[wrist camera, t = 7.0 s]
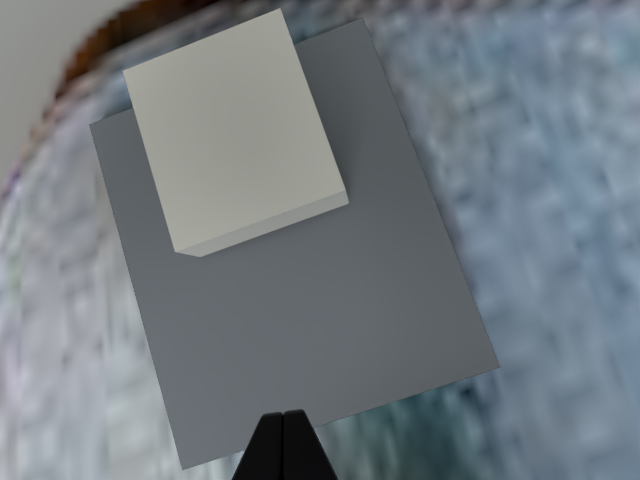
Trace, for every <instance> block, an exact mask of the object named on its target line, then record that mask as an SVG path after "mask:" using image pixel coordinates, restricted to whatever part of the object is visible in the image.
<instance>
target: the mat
mask: <svg viewBox="0 0 640 480" xmlns="http://www.w3.org/2000/svg"><path fill="white" fill-rule="evenodd" d="M294 48H295V50H296V53H297V56H298V59H299V61H300V64H301V67H302V70H303V73H304V75H305V78H306V81H307V84H308V86H309V89H310V92H311V95H312V98H313V100H314V103H315V106H316V109H317V111H318V114H319V117H320V120H321V123H322V125H323V128H324V131H325V134H326V136H327V139H328V142H329V145H330V148H331V150H332V153H333V156H334V159H335V161H336V164H337V167H338V170H339V173H340V175H341V178H342V181H343V184H344V186H345V189H346V193H347V197H348V201H349V204H346V205H344V206H341V207H338V208H335V209H332V210H330V211H327V212H324V213H321V214H319V215H316V216H313V217H310V218H307V219H305V220H302V221H299V222H296V223H294V224H291V225H288V226H285V227H282V228H280V229H277V230H274V231H271V232H269V233H266V234H263V235H260V236H258V237H255V238H252V239H249V240H246V241H244V242H241V243H238V244H235V245H233V246H230V247H227V248H224V249H221V250H219V251H216V252H213V253H210V254H208V255H205V256H202V257H197V256H192V255H187V254H182V253H177V252H175V250H174V247H173V243H172V240H171V236H170V233H169V230H168V226H167V223H166V219H165V216H164V212H163V209H162V205H161V202H160V198H159V195H158V191H157V188H156V184H155V181H154V178H153V174H152V171H151V167H150V164H149V160H148V157H147V153H146V150H145V146H144V143H143V139H142V136H141V132H140V129H139V125H138V122H137V119H136V115H135V112H134V108H130V109H128V110H125V111H123V112H120V113H117V114H115V115H112V116H110V117H107V118H105V119H102V120H100V121H97V122H94V123H92V124H89V125H90V128H91V132H92V136H93V140H94V143H95V147H96V151H97V154H98V158H99V162H100V166H101V169H102V173H103V177H104V180H105V184H106V188H107V192H108V195H109V199H110V203H111V206H112V210H113V214H114V218H115V221H116V225H117V229H118V232H119V236H120V240H121V244H122V247H123V251H124V255H125V258H126V262H127V266H128V270H129V273H130V277H131V281H132V284H133V288H134V292H135V296H136V299H137V303H138V307H139V310H140V314H141V318H142V322H143V325H144V329H145V333H146V336H147V340H148V344H149V348H150V351H151V355H152V359H153V362H154V366H155V370H156V374H157V377H158V381H159V385H160V388H161V392H162V396H163V400H164V403H165V407H166V411H167V414H168V418H169V422H170V426H171V429H172V433H173V437H174V440H175V444H176V448H177V452H178V455H179V459H180V463H181V466H182V470H184V469H187V468H191V467H194V466H197V465H200V464H203V463H206V462H209V461H212V460H215V459H218V458H222V457H225V456H228V455H231V454H234V453H237V452H240V451H243V450H246V448H247V445H248V443H249V441H250V439H251V437H252V435H253V433H254V430H255V428H256V426H257V424H258V422H259V420H260V418H261V416H262V415H263V414H265V413H273V412H282V413H283V414H284V412H285V411H288V410H296V409H303V410H304V411H305V413H306V415H307V417H308V419H309V421H310V423H311V425H312V427H313V428H314V427H317V426H320V425H324V424H327V423H330V422H333V421H336V420H339V419H342V418H345V417H348V416H351V415H354V414H358V413H361V412H364V411H367V410H370V409H373V408H376V407H379V406H382V405H385V404H389V403H392V402H395V401H398V400H401V399H404V398H407V397H410V396H413V395H416V394H419V393H423V392H426V391H429V390H432V389H435V388H438V387H441V386H444V385H447V384H450V383H453V382H457V381H460V380H463V379H466V378H469V377H472V376H475V375H478V374H481V373H484V372H487V371H491V370H494V369H497V368H500V366H499V363H498V360H497V358H496V355H495V353H494V350H493V348H492V345H491V343H490V340H489V337H488V335H487V332H486V330H485V327H484V325H483V322H482V320H481V317H480V315H479V312H478V309H477V307H476V304H475V302H474V299H473V297H472V294H471V292H470V289H469V286H468V284H467V281H466V279H465V276H464V274H463V271H462V269H461V266H460V263H459V261H458V258H457V256H456V253H455V251H454V248H453V246H452V243H451V241H450V238H449V235H448V233H447V230H446V228H445V225H444V223H443V220H442V218H441V215H440V212H439V210H438V207H437V205H436V202H435V200H434V197H433V195H432V192H431V190H430V187H429V184H428V182H427V179H426V177H425V174H424V172H423V169H422V167H421V164H420V161H419V159H418V156H417V154H416V151H415V149H414V146H413V144H412V141H411V139H410V136H409V133H408V131H407V128H406V126H405V123H404V121H403V118H402V116H401V113H400V110H399V108H398V105H397V103H396V100H395V98H394V95H393V93H392V90H391V87H390V85H389V82H388V80H387V77H386V75H385V72H384V70H383V67H382V65H381V62H380V59H379V57H378V54H377V52H376V49H375V47H374V44H373V42H372V39H371V36H370V34H369V31H368V29H367V26H366V24H365V21H364V19H363V18H360V19H357V20H355V21H352V22H350V23H347V24H345V25H342V26H340V27H337V28H334V29H332V30H329V31H327V32H324V33H322V34H319V35H317V36H314V37H312V38H309V39H306V40H304V41H301V42H299V43H296V44H294Z"/></svg>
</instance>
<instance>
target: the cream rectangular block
mask: <svg viewBox="0 0 640 480" xmlns="http://www.w3.org/2000/svg"><path fill="white" fill-rule="evenodd" d="M123 73H124V77H125V80H126V84H127V87H128V91H129V94H130V98H131V101H132V105H133V108H134V112H135V115H136V119H137V122H138V125H139V129H140V132H141V136H142V139H143V143H144V146H145V150H146V153H147V157H148V160H149V164H150V167H151V171H152V174H153V178H154V181H155V184H156V188H157V191H158V195H159V198H160V202H161V205H162V209H163V212H164V216H165V219H166V223H167V226H168V230H169V233H170V236H171V240H172V243H173V247H174V250H175V252H177V253H182V254H187V255H192V256H197V257H202V256H205V255H208V254H210V253H213V252H216V251H219V250H221V249H224V248H227V247H230V246H233V245H235V244H238V243H241V242H244V241H246V240H249V239H252V238H255V237H258V236H260V235H263V234H266V233H269V232H271V231H274V230H277V229H280V228H282V227H285V226H288V225H291V224H294V223H296V222H299V221H302V220H305V219H307V218H310V217H313V216H316V215H319V214H321V213H324V212H327V211H330V210H332V209H335V208H338V207H341V206H344V205H346V204H349V201H348V197H347V193H346V189H345V186H344V184H343V181H342V178H341V175H340V173H339V170H338V167H337V164H336V161H335V159H334V156H333V153H332V150H331V148H330V145H329V142H328V139H327V136H326V134H325V131H324V128H323V125H322V123H321V120H320V117H319V114H318V111H317V109H316V106H315V103H314V100H313V98H312V95H311V92H310V89H309V86H308V84H307V81H306V78H305V75H304V73H303V70H302V67H301V64H300V61H299V59H298V56H297V53H296V50H295V48H294V45H293V42H292V39H291V36H290V34H289V31H288V28H287V25H286V22H285V20H284V17H283V14H282V11H281V9H280V8H279V9H277V10H274V11H272V12H269V13H267V14H264V15H261V16H259V17H256V18H254V19H251V20H249V21H246V22H244V23H241V24H239V25H236V26H234V27H231V28H229V29H226V30H224V31H221V32H219V33H216V34H214V35H211V36H209V37H206V38H204V39H201V40H199V41H196V42H194V43H191V44H189V45H186V46H184V47H181V48H179V49H176V50H174V51H171V52H169V53H166V54H164V55H161V56H159V57H156V58H154V59H151V60H149V61H146V62H144V63H141V64H139V65H136V66H134V67H131V68H129V69H126V70H124V71H123Z"/></svg>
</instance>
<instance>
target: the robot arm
mask: <svg viewBox="0 0 640 480" xmlns="http://www.w3.org/2000/svg"><path fill="white" fill-rule="evenodd" d="M232 480H338V478H337V476H336V474H335V472H334V470H333V468H332V466H331V464H330V462H329V460H328V458H327V456H326V454H325V452H324V449H323V447H322V445H321V443H320V441H319V439H318V437H317V435H316V433H315V431H314V429H313V427H312V425H311V423H310V421H309V419H308V417H307V415H306V413H305V411H304V410H303V409H296V410H288V411H285V412H284V414H283V413H282V412H273V413H265V414H263V415H262V416H261V418H260V420H259V422H258V424H257V426H256V428H255V430H254V433H253V435H252V437H251V439H250V441H249V443H248V445H247V448H246V450H245V452H244V454H243V456H242V458H241V460H240V463H239V465H238V467H237V469H236V471H235V473H234V476H233V478H232Z"/></svg>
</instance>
